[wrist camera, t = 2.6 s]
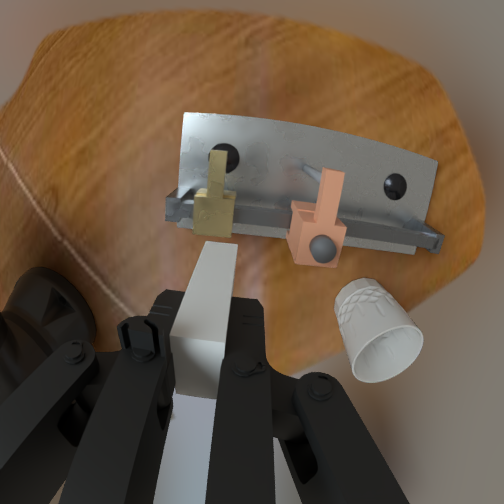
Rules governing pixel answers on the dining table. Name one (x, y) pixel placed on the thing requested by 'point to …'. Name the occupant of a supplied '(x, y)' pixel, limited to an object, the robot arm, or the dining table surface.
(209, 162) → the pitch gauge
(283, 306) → the dining table surface
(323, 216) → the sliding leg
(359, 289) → the white cup
